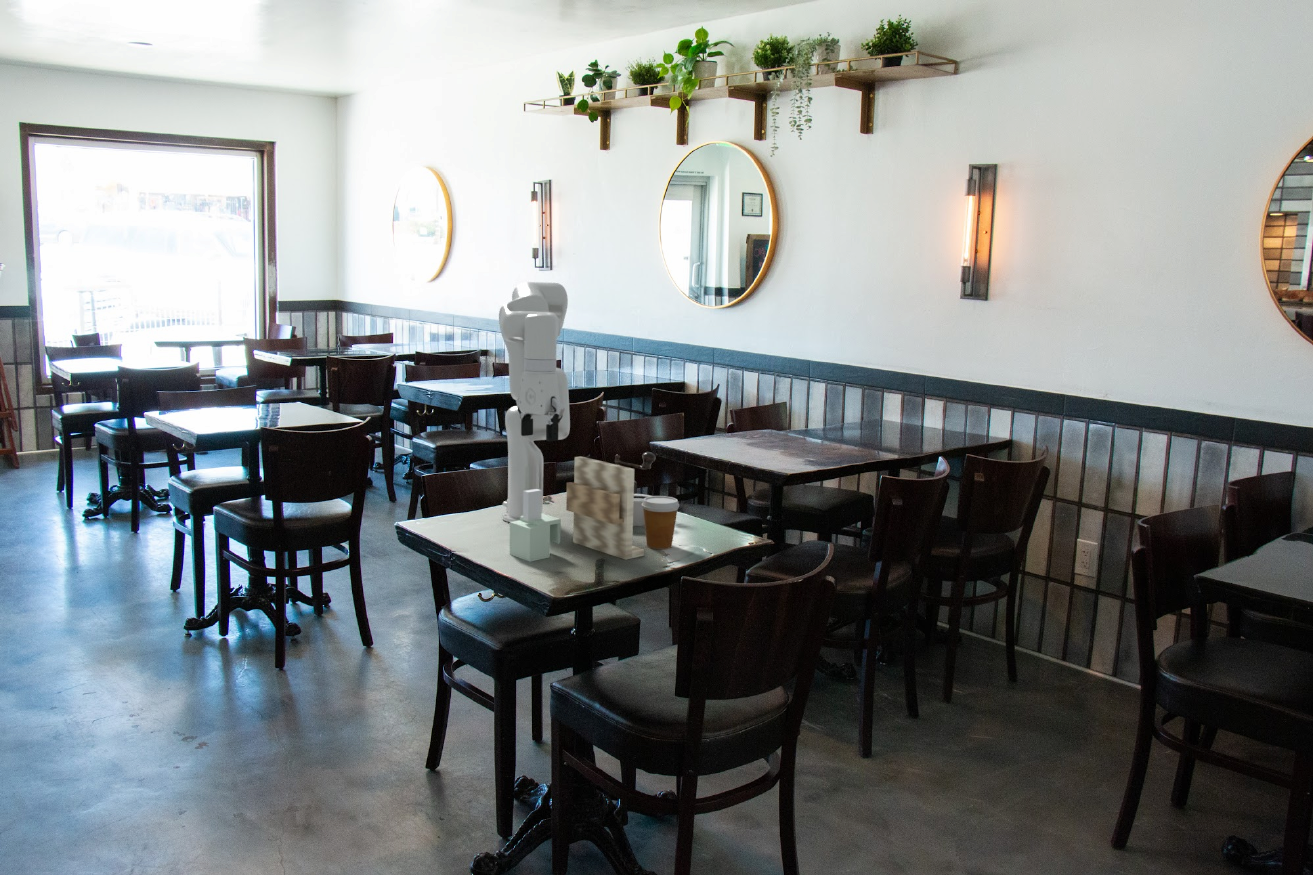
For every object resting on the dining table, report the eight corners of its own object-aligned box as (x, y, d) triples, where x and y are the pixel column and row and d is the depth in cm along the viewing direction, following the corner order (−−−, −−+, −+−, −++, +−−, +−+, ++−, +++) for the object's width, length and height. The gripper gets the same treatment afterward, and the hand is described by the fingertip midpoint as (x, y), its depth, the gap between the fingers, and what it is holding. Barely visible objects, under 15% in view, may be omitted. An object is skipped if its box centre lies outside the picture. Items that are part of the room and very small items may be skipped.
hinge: (662, 521, 288) (665, 491, 283) (664, 531, 284) (667, 500, 279) (602, 521, 285) (603, 491, 281) (603, 531, 281) (605, 500, 276)
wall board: (563, 544, 261) (564, 458, 258) (591, 538, 268) (592, 454, 264) (615, 561, 247) (618, 471, 243) (644, 555, 253) (646, 467, 250)
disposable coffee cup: (651, 552, 256) (652, 505, 254) (634, 543, 264) (635, 497, 262) (684, 548, 260) (686, 502, 258) (667, 539, 269) (668, 494, 267)
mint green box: (509, 554, 251) (510, 489, 248) (539, 547, 257) (540, 484, 255) (529, 561, 245) (530, 495, 243) (560, 554, 252) (560, 490, 249)
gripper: (505, 364, 248) (505, 434, 251) (550, 370, 236) (549, 444, 238) (530, 362, 253) (530, 432, 256) (575, 368, 241) (574, 441, 244)
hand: (539, 438), depth 247 cm, fingers open, 9 cm apart
